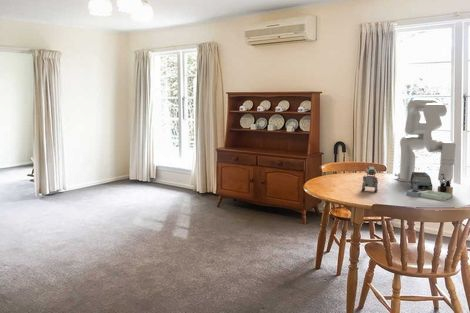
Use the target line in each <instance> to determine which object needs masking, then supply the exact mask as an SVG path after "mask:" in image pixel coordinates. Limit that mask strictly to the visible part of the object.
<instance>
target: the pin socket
mask: <svg viewBox="0 0 470 313" xmlns="http://www.w3.org/2000/svg"><path fill="white" fill-rule="evenodd" d="M420 192H423V191H419V190H418V192H413V188H412V189H408V190H406V196H410V197H415V198H419V194H420Z"/></svg>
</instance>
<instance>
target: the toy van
mask: <svg viewBox="0 0 470 313" xmlns="http://www.w3.org/2000/svg"><path fill="white" fill-rule="evenodd" d="M412 180H418V181H419V183H418V190H419V191H426V190H431V191H433V187H434V186H433V183H432V178H431V177H430V175H429V174H428V173H427V172H421V171H420V172H418V171H414V172H412V175H411V179H410V182H409V184H410V188H413V182H412Z"/></svg>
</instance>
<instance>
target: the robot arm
mask: <svg viewBox="0 0 470 313" xmlns="http://www.w3.org/2000/svg"><path fill="white" fill-rule="evenodd" d="M406 109H407V110H406V112H407V117H406V120H405V121H406V122H405V128H404V132H405V134H406V136H402V137H401V139H400V142H399V144H400V145H399V146H400V161H399V163H400V166H399V173H398V172H395V173H394V176H395V177H397V178H396V180H397V181H399V182H405V183H410V179H411V175H412V172H415V168H416V155H415V152H414V151H413V150H415V151H417V150H424V149H425V148H426V150H427V152H429V153H440V161H439V162H440V163H439V164H440V166H439V168H438V169H439V170H438V181H439V183H440V185H439V186H440V192H444V193H445V192H446V186H448V187H451V183H452V179H453V177H454V166H455V159H456V158H455V157H456V143H455V142H454V141H449V140H446V139H445V140H444V139H441V140H440V139H437V140H436V139H433V137H432V132H434V131H436V130H437V129H438V130H439V129H440V128H441V127H442V126H443V124H442V123H443V122H442V120H441V117H445V116H446V115H447V112H448V110H447V106H446V105H445V104H444V103H443V102H442V101H439V100H437V99H435V98H412V99H410V100H409V101H408V103H407V107H406ZM421 112H422V113H423V116H424V120H425V121H423V120H421V117H422V116H421ZM408 135H409V136H408Z"/></svg>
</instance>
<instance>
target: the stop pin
mask: <svg viewBox="0 0 470 313" xmlns="http://www.w3.org/2000/svg"><path fill="white" fill-rule="evenodd" d="M412 182H413V187H412V189H413V192H418V183H419V181H418V180H412Z"/></svg>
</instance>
